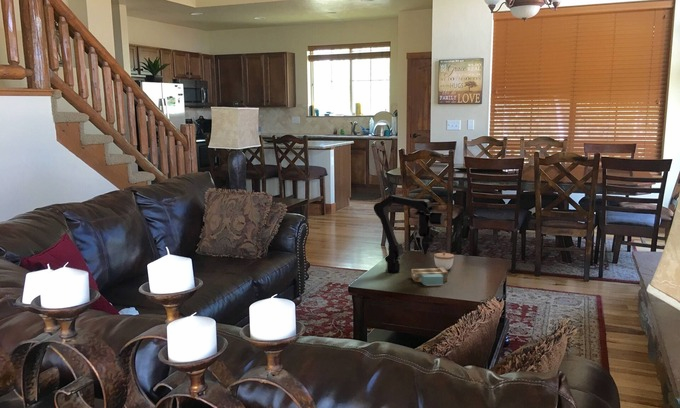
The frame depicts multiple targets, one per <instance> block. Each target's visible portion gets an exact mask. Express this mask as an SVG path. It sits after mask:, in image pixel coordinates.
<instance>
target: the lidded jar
mask: <svg viewBox="0 0 680 408" xmlns="http://www.w3.org/2000/svg"><path fill="white" fill-rule="evenodd" d="M433 257H434V264H435V266H436V267H437V269H438V268H442V267H443V268H444V269H445V270H446V271H448V270H450V268H451V267H452V266H453V265H454V258H455V255H454V254H452V253H450V252H449V253H447V252H446V251H442V252H437V253H434V256H433Z"/></svg>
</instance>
